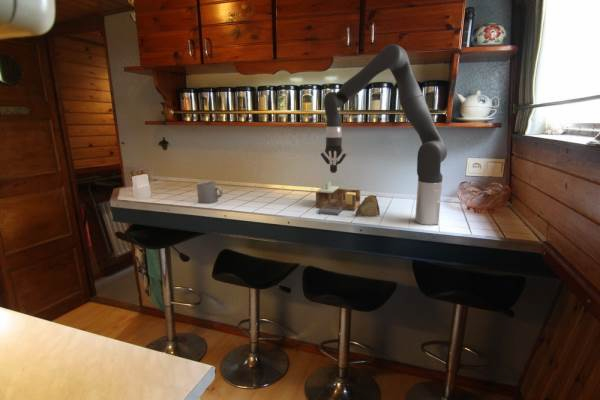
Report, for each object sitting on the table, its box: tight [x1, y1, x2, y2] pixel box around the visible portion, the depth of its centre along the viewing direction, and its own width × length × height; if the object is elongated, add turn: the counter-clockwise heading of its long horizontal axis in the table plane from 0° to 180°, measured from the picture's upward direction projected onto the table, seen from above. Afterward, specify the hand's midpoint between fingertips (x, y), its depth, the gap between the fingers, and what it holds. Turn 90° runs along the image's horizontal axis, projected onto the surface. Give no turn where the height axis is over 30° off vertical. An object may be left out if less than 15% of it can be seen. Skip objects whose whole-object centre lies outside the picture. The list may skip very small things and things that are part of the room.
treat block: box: [345, 192, 356, 204], centre depth 166 cm, size 4×4×5 cm
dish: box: [317, 206, 344, 216], centre depth 159 cm, size 9×9×1 cm
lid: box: [317, 180, 340, 193], centre depth 169 cm, size 7×12×4 cm, turn 158°
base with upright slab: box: [131, 173, 152, 199], centre depth 192 cm, size 9×9×12 cm
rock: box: [354, 194, 381, 218], centre depth 153 cm, size 11×9×10 cm
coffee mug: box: [196, 180, 223, 205], centre depth 179 cm, size 13×10×10 cm
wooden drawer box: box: [315, 188, 361, 212], centre depth 168 cm, size 19×12×8 cm, turn 68°
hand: (333, 172), depth 166 cm, fingers closed
